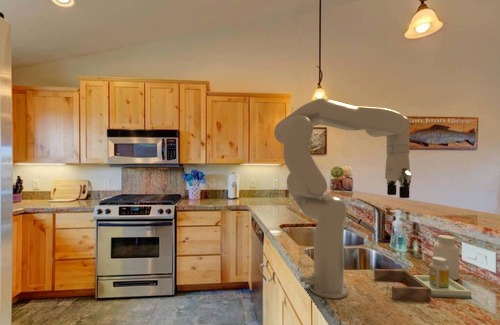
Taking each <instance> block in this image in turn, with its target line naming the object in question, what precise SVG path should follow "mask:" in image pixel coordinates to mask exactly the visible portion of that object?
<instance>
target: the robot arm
mask: <svg viewBox="0 0 500 325" xmlns="http://www.w3.org/2000/svg"><path fill="white" fill-rule="evenodd" d="M319 125H320V126H327V127H330V128H335V129H341V130H345V131H365V132H366V134H367V135H368V136H370V137H373V138H379V137H385V138H386V158H385V170H384V172H385V173H384V174H385V176H384V178H385V180H386V188H387V190H386V193H387V195H388V196H396V195H397V181H398V183H399V185H400V186H399V188H398V189H399V192H398V193H399V196H398V197H399V198H400V199H410V187H411V182H412V177H413V176H412V174H411V169H410V168H411V167H410V165H411V164H410V156H409V155H410V119H409V118H408V117H407V116H404V115H403V114H402V113H401V112H398V111H396V110H392V109H389V108H383V107H374V106H373V107H370V106H360V105H359V106H357V105H351V104H346V103H343V102H339V101H336V100H332V99H328V98H317V99H315V100H312V101H310V102H307V103H305V104H303V105H302V106H300V107H298V108H297V109H296V110H295V111H293V112H291V113H290V114H289V115H287V116H286V117H284V118H283V119H281V120H280V121H278V123H277V124H276V125H275V127H274V131H273V135H274V138H275V140H276V141H277V142H278V143H280V144H282V145H283V150H282V152H283V153H282V154H283V161H284V164H285V166H286V168H287V169H288V171H289V174H288V176H287V178H286V186H287V189H288V192H289V193H290V195H291V197H292V198H293V199H294V201H295V203H296V204H297V206H298V208H299V209H300V211H301V212H302V213H303V214H304V216H306V217H307V218H308V219H312V220H314V221H317V223H316V227H315V229H314V233H313V234H314V235H313V272H311V275H310V274H309V275H307V276H305V275H300V276H299V280H300V281H299V282H300V283H304V285H308V288H309V291H310V292H312V293H313V294H315V295H317V296H319V297H321V298H326V299H332V300H333V299H334V300H335V299H342V298H345V297H346V296H347V297H348V295H349V287H348V286H347V285H346V284H345V283H344V282H345V281H344V269H345V268H344V266H345V265H344V262H345V261H344V257H345V256H344V250H345V249H344V247H345V246H344V245H345V244H344V236H345V235H344V233H345V224H346V221H347V220H346V219H347V215H348V212H347V206H346V204H345V202H344V201H343V200H342V199H341V198H339V197H337V196H335V195H331V194H326V192H327V190H328V183H327V180H326V177H325V176H324V175H323V173H322V172H321V170H320V168H319V167H318V165H317V164H316V161H315V160H314V159H313V158H314V157H313V156H312V154H311V151H310V143H311V139H312V135H313V132H314V127H315V126H319Z"/></svg>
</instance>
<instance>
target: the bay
mask: <svg viewBox="0 0 500 325" xmlns="http://www.w3.org/2000/svg"><path fill="white" fill-rule="evenodd" d="M373 271H374V274H373V275H374V278H373V279H374V280H375V281H392V282H393V281H397V282H400V281H401V282H402V281H403V282H404V283H405V284H407V285H408V286H396V285H394V286H393V285H392V286H391V298H392V299H393V300H411V301H431V300H432V296H431V289H430V288H429V287H427V286H426V285H425V284H423V283H422V282H421V281H420V280H418V279H417V278H416V277H414V276H413V275H414V274H411V273H410V272H409V271H408V270H406V269H387V268H386V269H385V268H380V269H379V268H374V270H373Z"/></svg>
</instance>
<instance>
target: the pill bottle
mask: <svg viewBox="0 0 500 325" xmlns="http://www.w3.org/2000/svg"><path fill="white" fill-rule="evenodd" d="M432 247H433V249H432V250H433V256H432V257H442V258H445V259H446V264H445V265H447V266H448V268H449V278H450V279H452V280H453V281H456V280H457V281H458V280H459V279H460V248H459V246H458V245H457V244H456V238H455V237H454V236H452V235H445V234H439V235H437V241H436V242H434V244H433V246H432Z"/></svg>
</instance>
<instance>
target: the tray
mask: <svg viewBox="0 0 500 325" xmlns="http://www.w3.org/2000/svg"><path fill="white" fill-rule="evenodd" d="M412 275H413V276H414V277H416V278H417V279H418V280H420V281H421V282H422V283H423V284H425V285H426V286H427V287H429V288H430V289H431V298H432V297H434V298H435V297H436V298H438V297H439V298H460V299H461V298H462V299H463V298H466V299H468V298H470V299H471V298H472V291H471V289H468V288H466V287H465V286H463V285H462V284H460V283H458V282H456V280H452V279H450V278H449V288H448V289H436V288H433V287H432V286H430V283H429V280H430V275H427V274H426V275H424V274H423V275H421V274H420V275H419V274H412Z"/></svg>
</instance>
